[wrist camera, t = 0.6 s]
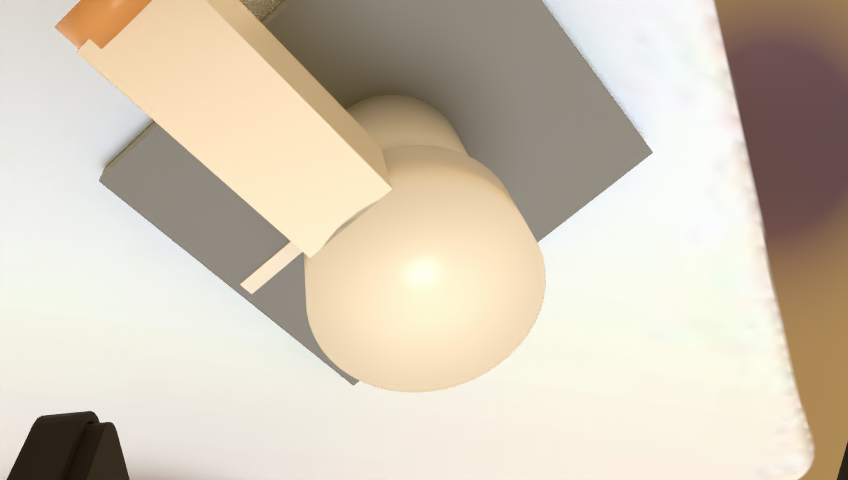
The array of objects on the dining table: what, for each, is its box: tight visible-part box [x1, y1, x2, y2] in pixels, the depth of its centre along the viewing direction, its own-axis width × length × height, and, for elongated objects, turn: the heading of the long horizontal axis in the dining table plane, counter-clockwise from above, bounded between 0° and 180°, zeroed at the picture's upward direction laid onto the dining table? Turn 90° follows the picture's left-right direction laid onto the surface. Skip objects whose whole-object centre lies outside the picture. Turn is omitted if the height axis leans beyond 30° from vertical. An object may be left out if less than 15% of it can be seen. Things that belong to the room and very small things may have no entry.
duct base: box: [99, 0, 653, 385], centre depth 35 cm, size 17×20×9 cm
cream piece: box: [55, 0, 546, 392], centre depth 27 cm, size 18×8×4 cm, turn 39°
